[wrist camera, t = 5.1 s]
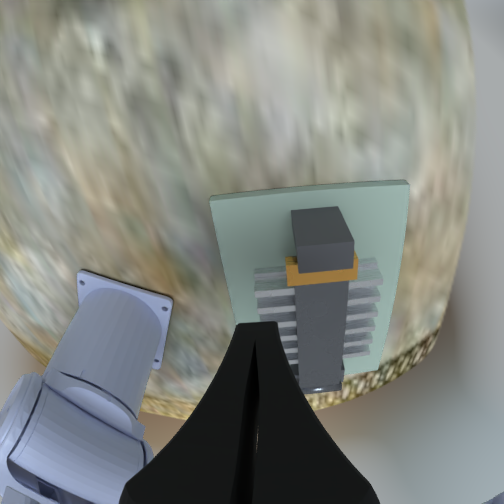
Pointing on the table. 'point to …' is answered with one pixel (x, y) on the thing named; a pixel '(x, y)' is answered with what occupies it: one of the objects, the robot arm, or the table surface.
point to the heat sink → (284, 312)
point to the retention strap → (320, 324)
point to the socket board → (275, 241)
